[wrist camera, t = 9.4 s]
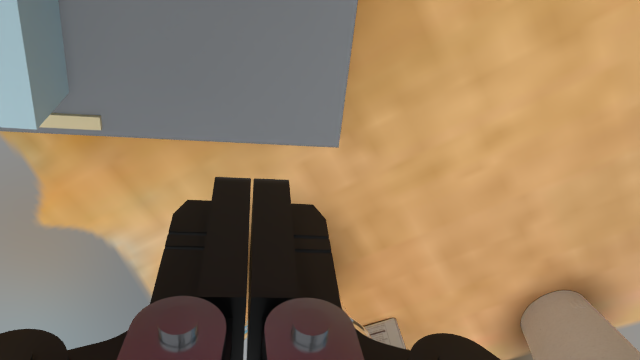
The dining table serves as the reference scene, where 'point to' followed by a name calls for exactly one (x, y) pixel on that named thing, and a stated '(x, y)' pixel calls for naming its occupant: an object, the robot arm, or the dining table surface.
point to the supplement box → (386, 333)
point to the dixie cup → (572, 330)
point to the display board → (205, 70)
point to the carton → (30, 62)
